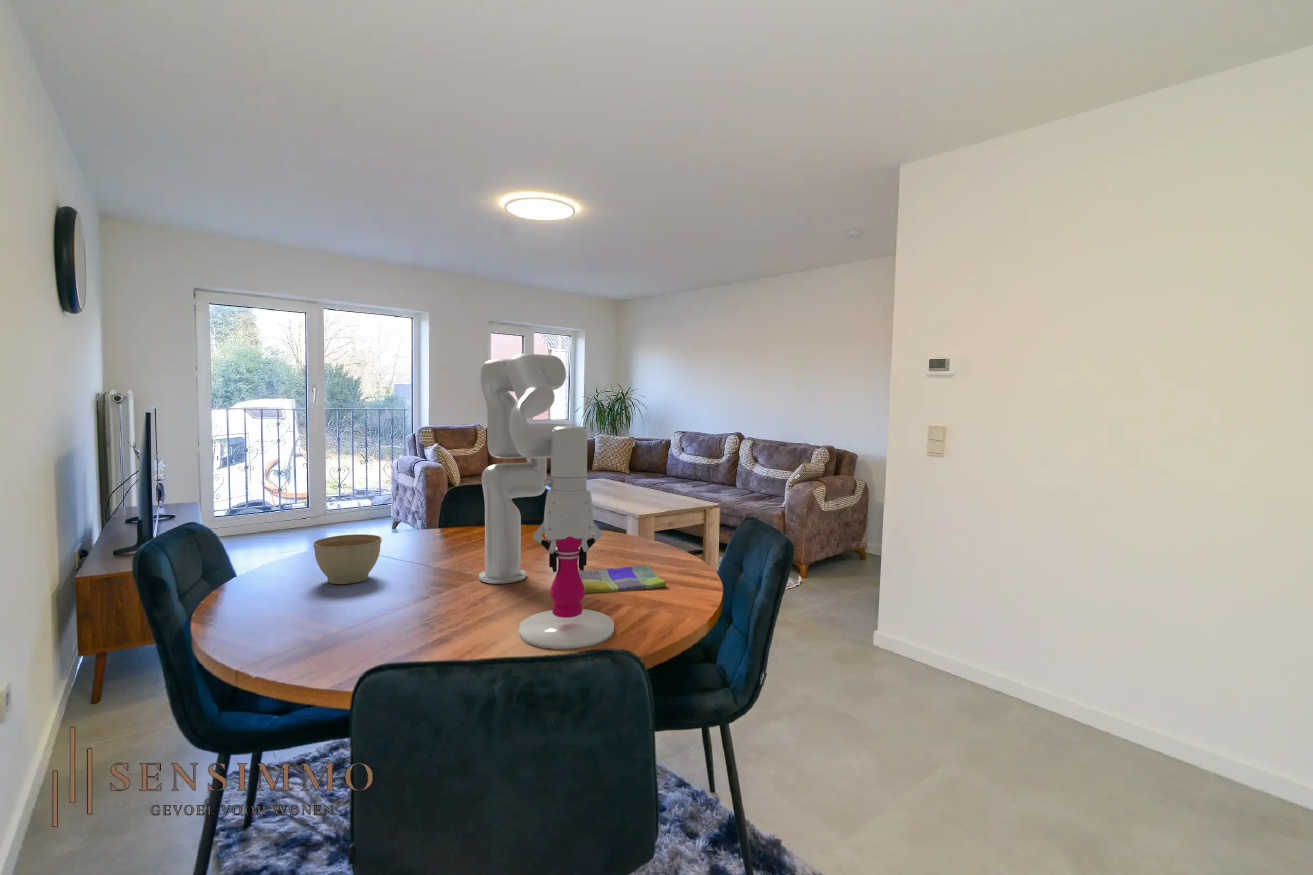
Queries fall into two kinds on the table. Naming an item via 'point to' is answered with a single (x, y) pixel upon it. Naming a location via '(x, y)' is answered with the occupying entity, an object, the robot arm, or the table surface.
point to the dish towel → (620, 579)
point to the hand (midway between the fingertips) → (567, 568)
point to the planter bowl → (347, 557)
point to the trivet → (566, 630)
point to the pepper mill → (567, 580)
